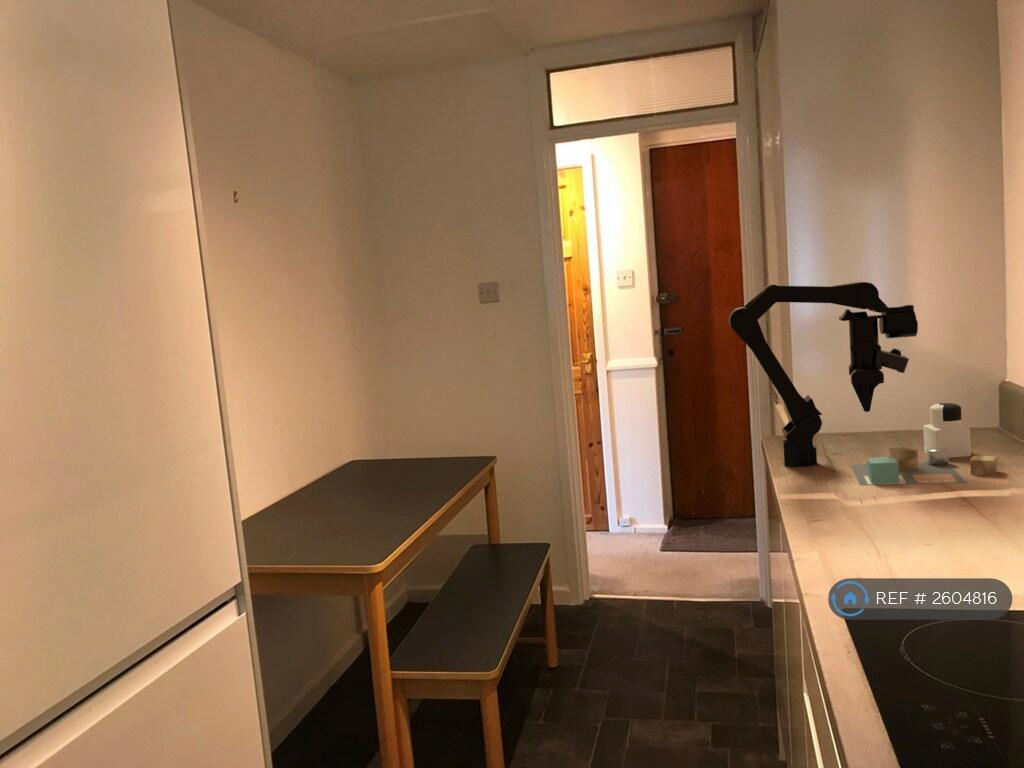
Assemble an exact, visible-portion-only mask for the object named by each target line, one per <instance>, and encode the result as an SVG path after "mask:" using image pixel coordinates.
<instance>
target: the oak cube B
mask: <svg viewBox="0 0 1024 768" xmlns="http://www.w3.org/2000/svg"><path fill="white" fill-rule="evenodd" d="M997 470H998V469H997V456H995V455H994V456H992V455H991V456H988V455H972V456H971V458H970V475H974V476H975V475H976V476H991V477H992V476H993V477H994V476H995V474H996V473H997Z"/></svg>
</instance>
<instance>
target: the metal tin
mask: <svg viewBox="0 0 1024 768" xmlns="http://www.w3.org/2000/svg"><path fill="white" fill-rule="evenodd" d="M926 455H927V456H926V457H927V462H928V465H932V466H945V465H949V464H950V458H949V450H948V449H946V448H930V449H927V453H926Z"/></svg>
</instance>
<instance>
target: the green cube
mask: <svg viewBox="0 0 1024 768" xmlns="http://www.w3.org/2000/svg"><path fill="white" fill-rule="evenodd" d="M866 459H867V460H866V462H867V463H866V464H867V465H868V478H869V480H870V482H871V483H899V472H898V462H897V461H896V459H895V458H894V457H890V456H888V457H867V458H866Z"/></svg>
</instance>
